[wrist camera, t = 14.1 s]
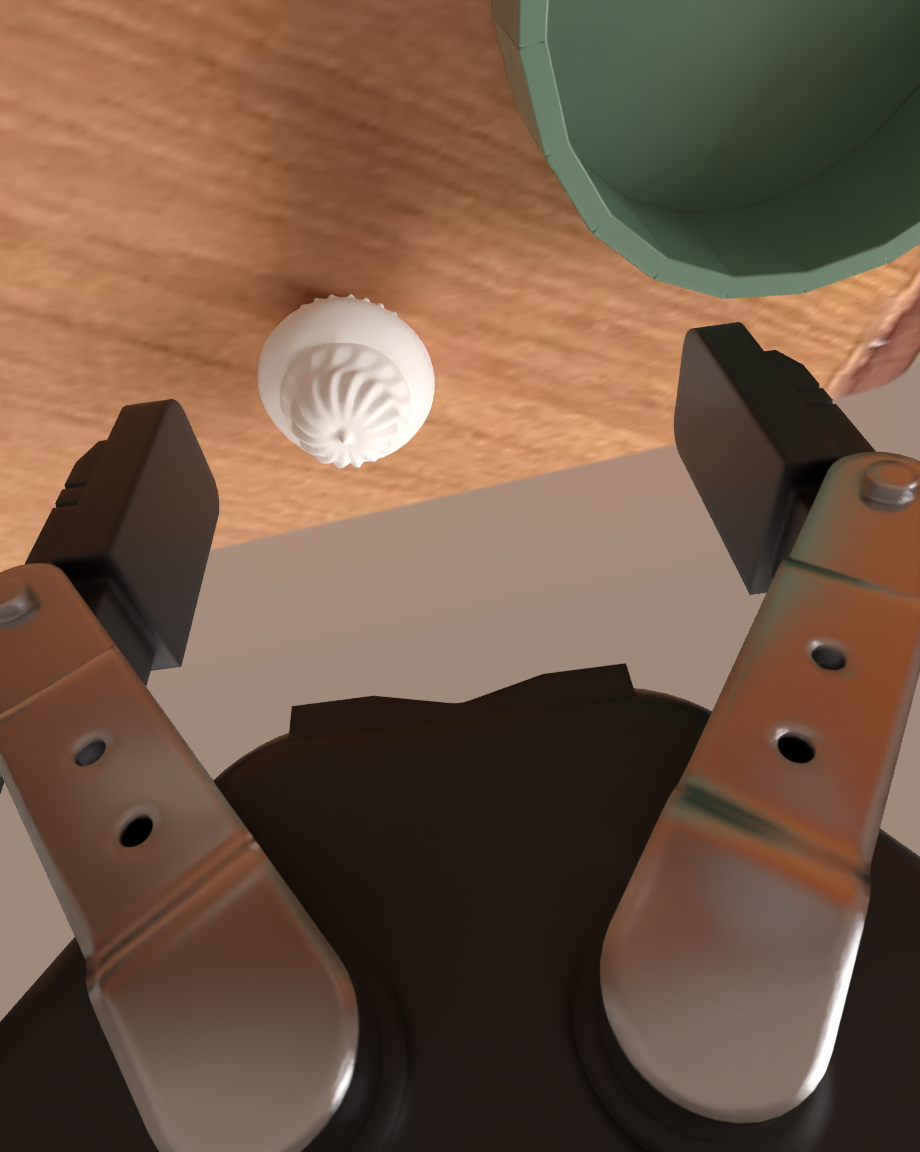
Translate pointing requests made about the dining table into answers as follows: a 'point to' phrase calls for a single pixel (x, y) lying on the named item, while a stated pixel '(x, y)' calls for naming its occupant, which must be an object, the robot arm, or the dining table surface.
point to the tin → (728, 132)
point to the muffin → (346, 380)
